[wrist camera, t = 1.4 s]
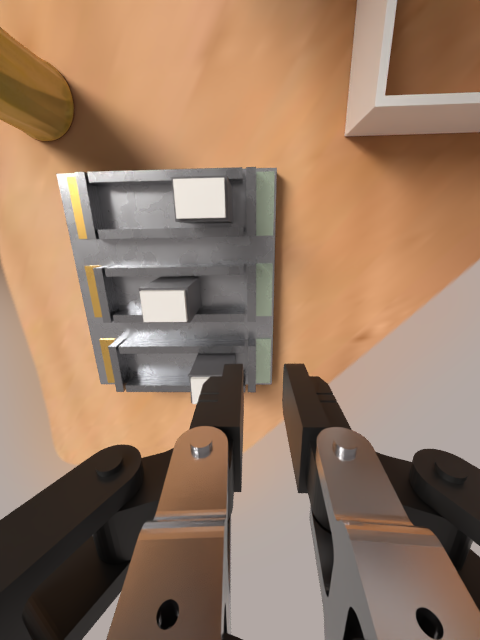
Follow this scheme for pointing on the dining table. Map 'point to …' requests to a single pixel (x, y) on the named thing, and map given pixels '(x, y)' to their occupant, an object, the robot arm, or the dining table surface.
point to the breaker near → (202, 199)
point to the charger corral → (396, 110)
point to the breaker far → (207, 370)
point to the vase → (32, 92)
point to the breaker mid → (170, 299)
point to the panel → (172, 274)
